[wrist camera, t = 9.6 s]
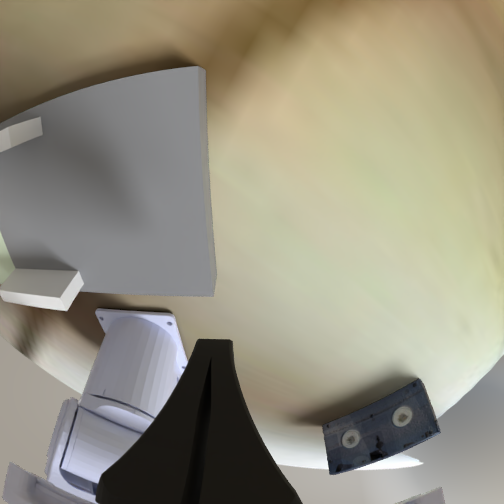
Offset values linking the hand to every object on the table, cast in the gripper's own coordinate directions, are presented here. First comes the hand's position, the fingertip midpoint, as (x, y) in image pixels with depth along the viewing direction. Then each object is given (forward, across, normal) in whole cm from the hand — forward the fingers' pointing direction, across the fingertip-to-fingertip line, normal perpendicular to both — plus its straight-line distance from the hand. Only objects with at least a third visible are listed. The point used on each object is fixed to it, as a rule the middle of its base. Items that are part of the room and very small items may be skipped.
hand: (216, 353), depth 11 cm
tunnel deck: (+9, +19, -4) cm, 22 cm away
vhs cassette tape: (+10, -21, +31) cm, 39 cm away
